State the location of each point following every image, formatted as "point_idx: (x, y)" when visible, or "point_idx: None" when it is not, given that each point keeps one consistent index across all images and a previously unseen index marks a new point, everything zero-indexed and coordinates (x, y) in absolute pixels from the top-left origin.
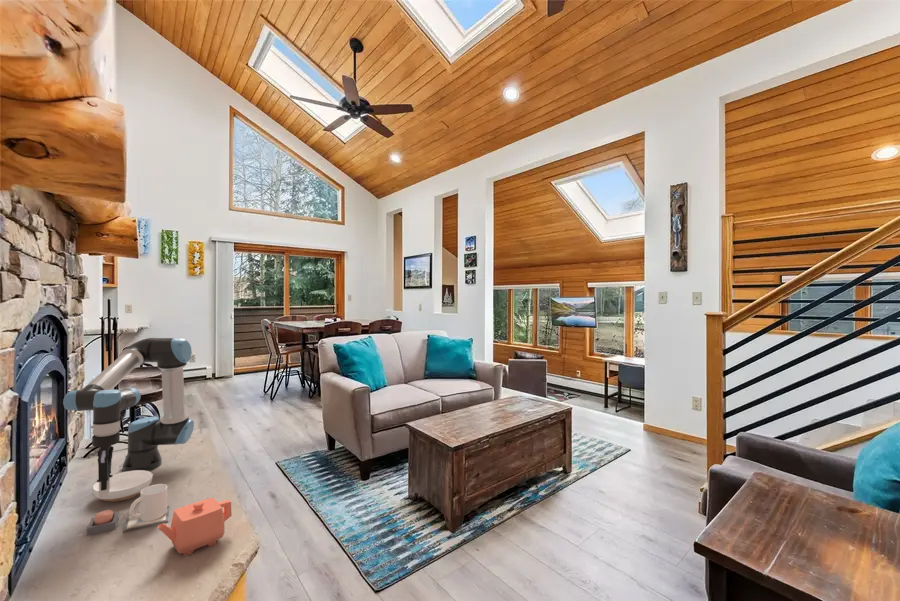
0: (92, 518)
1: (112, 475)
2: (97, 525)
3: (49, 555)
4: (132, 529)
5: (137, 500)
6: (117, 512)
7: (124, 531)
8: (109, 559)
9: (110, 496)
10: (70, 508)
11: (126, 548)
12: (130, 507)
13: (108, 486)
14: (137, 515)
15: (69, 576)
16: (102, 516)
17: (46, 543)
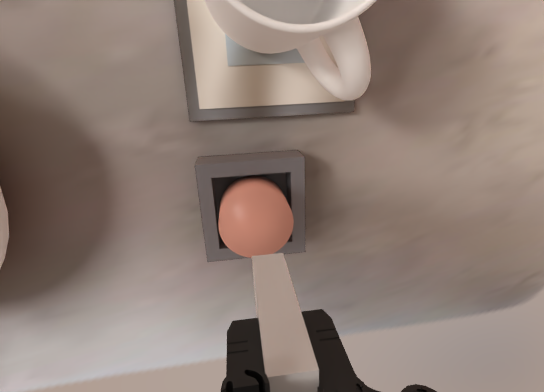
0: (214, 258)
1: (228, 380)
2: (296, 222)
3: (375, 301)
4: None
5: (368, 50)
6: (195, 169)
7: (353, 107)
8: (527, 122)
9: (4, 245)
10: (14, 357)
11: (490, 75)
12: (361, 94)
13: (299, 313)
14: (328, 56)
15: (540, 215)
16: (286, 223)
17: None
